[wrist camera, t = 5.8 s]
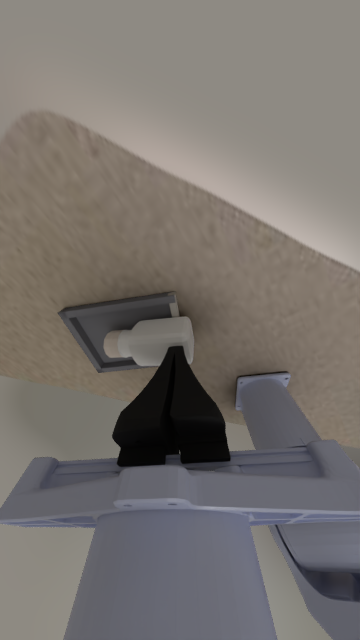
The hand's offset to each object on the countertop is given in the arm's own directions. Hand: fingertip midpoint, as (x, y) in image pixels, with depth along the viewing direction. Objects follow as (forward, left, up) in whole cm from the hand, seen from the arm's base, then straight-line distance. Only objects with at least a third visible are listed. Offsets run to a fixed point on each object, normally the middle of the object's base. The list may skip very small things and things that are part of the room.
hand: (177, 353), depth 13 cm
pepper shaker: (0, -2, -2) cm, 3 cm away
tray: (-1, +6, -5) cm, 8 cm away
